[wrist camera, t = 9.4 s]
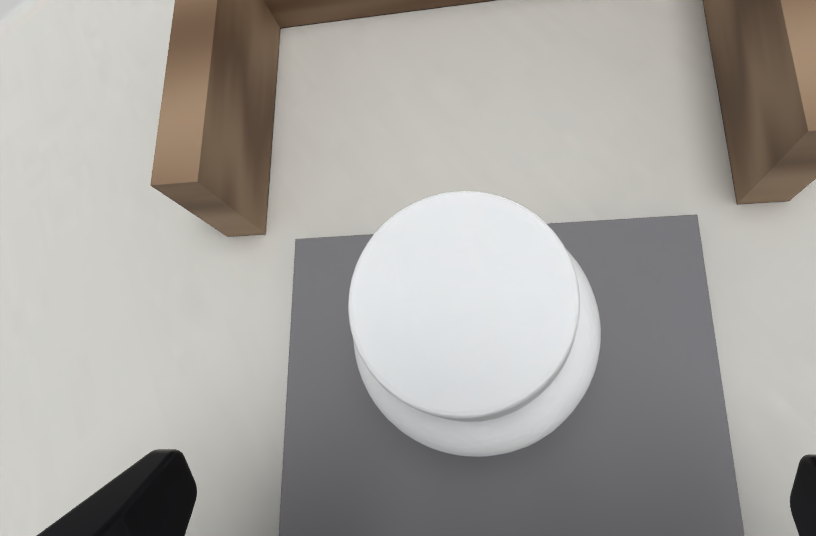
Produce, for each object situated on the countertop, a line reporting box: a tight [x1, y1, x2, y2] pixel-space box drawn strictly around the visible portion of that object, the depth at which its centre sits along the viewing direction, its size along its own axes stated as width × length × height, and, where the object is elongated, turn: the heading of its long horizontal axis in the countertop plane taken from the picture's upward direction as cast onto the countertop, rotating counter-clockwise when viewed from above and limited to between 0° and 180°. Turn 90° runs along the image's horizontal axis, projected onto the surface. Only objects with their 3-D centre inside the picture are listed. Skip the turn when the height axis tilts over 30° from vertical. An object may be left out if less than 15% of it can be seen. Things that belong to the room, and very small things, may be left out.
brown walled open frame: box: [151, 0, 816, 237], centre depth 19 cm, size 11×20×6 cm, turn 90°
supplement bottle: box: [348, 191, 601, 457], centre depth 14 cm, size 5×5×10 cm
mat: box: [279, 215, 744, 536], centre depth 19 cm, size 12×14×1 cm
